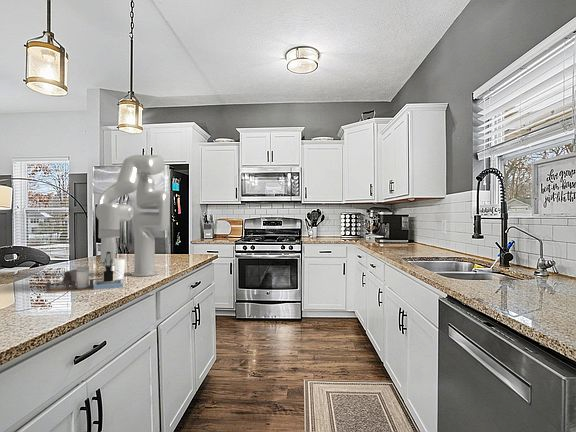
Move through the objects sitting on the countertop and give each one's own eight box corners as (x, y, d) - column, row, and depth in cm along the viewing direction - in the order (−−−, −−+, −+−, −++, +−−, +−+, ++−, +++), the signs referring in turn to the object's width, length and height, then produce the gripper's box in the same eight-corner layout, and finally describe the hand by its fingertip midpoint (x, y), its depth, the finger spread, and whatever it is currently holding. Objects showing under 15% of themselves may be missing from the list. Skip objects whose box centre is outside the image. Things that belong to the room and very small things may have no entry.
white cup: (105, 280, 156) (106, 258, 156) (125, 279, 160) (125, 258, 160) (104, 283, 149) (105, 260, 149) (124, 282, 152) (125, 259, 153)
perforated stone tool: (78, 282, 152) (78, 266, 153) (90, 282, 153) (91, 266, 153) (58, 289, 138) (59, 272, 138) (72, 289, 138) (72, 271, 138)
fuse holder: (49, 292, 132) (49, 280, 132) (93, 288, 139) (93, 277, 139) (43, 297, 123) (44, 284, 123) (91, 293, 130) (92, 281, 130)
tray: (95, 288, 139) (95, 281, 139) (122, 286, 143) (122, 279, 143) (93, 293, 130) (93, 285, 130) (122, 291, 134) (122, 283, 134)
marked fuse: (102, 281, 137) (103, 261, 137) (114, 280, 139) (114, 261, 139) (102, 283, 133) (102, 262, 134) (114, 282, 135) (114, 262, 135)
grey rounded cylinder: (76, 287, 133) (77, 266, 134) (89, 286, 135) (89, 266, 135) (75, 289, 130) (75, 268, 130) (88, 288, 132) (88, 267, 132)
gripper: (99, 233, 142) (99, 277, 142) (97, 235, 127) (96, 284, 127) (119, 233, 146) (119, 276, 145) (119, 235, 131) (119, 283, 130)
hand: (108, 279), depth 136 cm, fingers closed on marked fuse, 4 cm apart
